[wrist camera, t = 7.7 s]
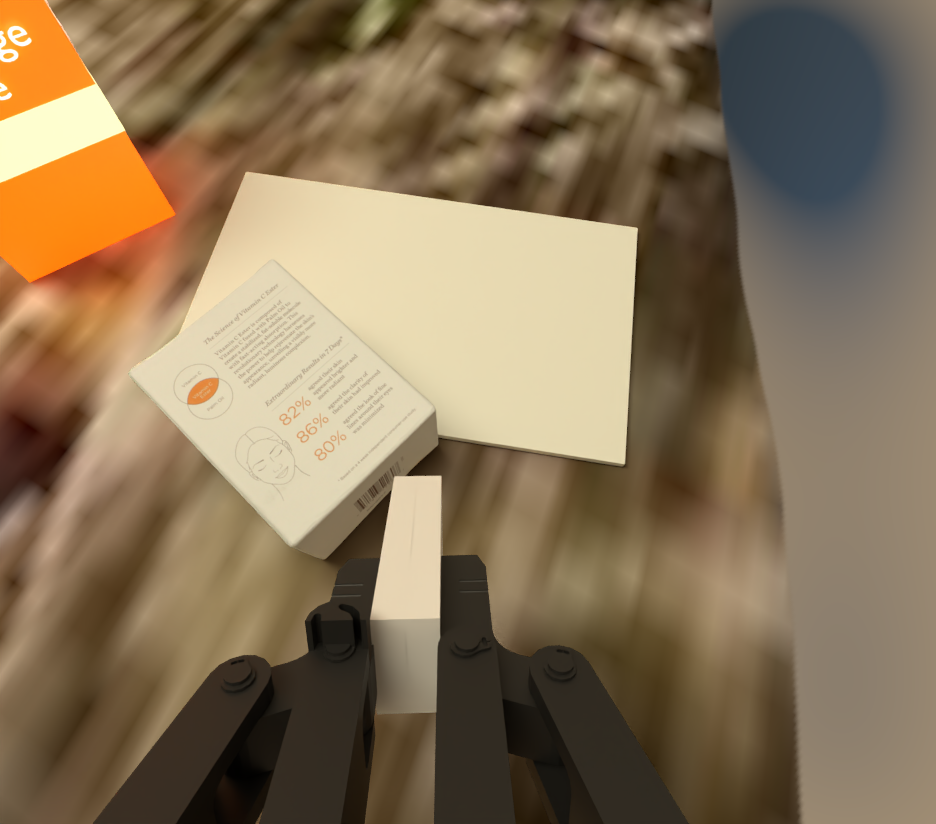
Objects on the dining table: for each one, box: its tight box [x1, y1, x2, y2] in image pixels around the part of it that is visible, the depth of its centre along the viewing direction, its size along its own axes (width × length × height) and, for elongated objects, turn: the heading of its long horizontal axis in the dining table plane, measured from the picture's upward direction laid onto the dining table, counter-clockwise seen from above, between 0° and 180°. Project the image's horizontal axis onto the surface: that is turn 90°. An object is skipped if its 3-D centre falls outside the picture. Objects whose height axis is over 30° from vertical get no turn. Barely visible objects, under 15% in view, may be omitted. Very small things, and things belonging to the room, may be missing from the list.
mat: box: [179, 172, 638, 467], centre depth 32 cm, size 24×15×1 cm, turn 81°
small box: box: [128, 259, 438, 560], centre depth 27 cm, size 8×6×10 cm
